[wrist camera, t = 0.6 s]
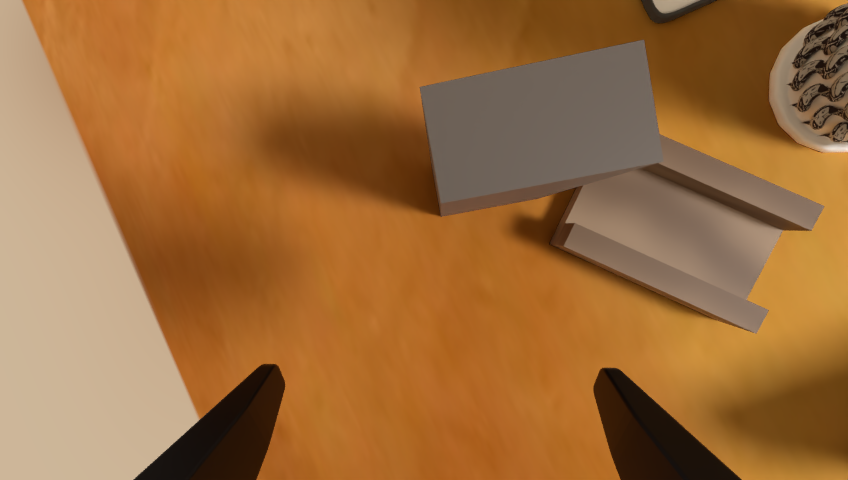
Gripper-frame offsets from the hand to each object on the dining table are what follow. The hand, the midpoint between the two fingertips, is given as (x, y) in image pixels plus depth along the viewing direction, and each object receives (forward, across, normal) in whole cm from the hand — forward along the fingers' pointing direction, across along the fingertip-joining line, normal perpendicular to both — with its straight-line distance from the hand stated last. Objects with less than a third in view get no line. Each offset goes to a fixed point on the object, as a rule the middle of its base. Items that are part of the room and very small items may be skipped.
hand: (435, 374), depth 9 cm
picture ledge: (+13, -14, +3) cm, 20 cm away
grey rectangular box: (+15, -3, 0) cm, 15 cm away
